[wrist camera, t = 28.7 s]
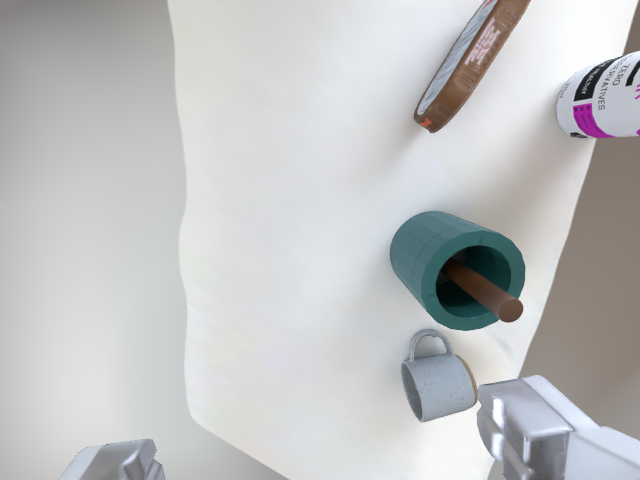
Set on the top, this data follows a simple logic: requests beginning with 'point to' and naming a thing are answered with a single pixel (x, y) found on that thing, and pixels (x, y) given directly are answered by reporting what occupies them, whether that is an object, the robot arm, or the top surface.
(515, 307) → the dish brush
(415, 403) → the ceramic mug
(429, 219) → the teal pen holder
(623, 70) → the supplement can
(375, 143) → the top surface
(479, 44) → the tin
